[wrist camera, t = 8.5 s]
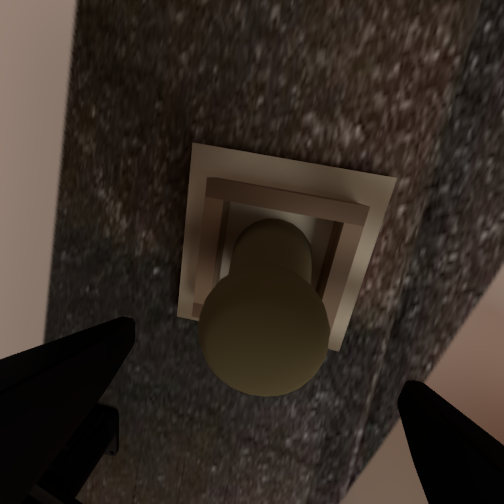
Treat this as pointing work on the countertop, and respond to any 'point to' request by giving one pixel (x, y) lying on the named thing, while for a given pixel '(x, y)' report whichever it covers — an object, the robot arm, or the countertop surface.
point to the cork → (266, 313)
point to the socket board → (286, 208)
